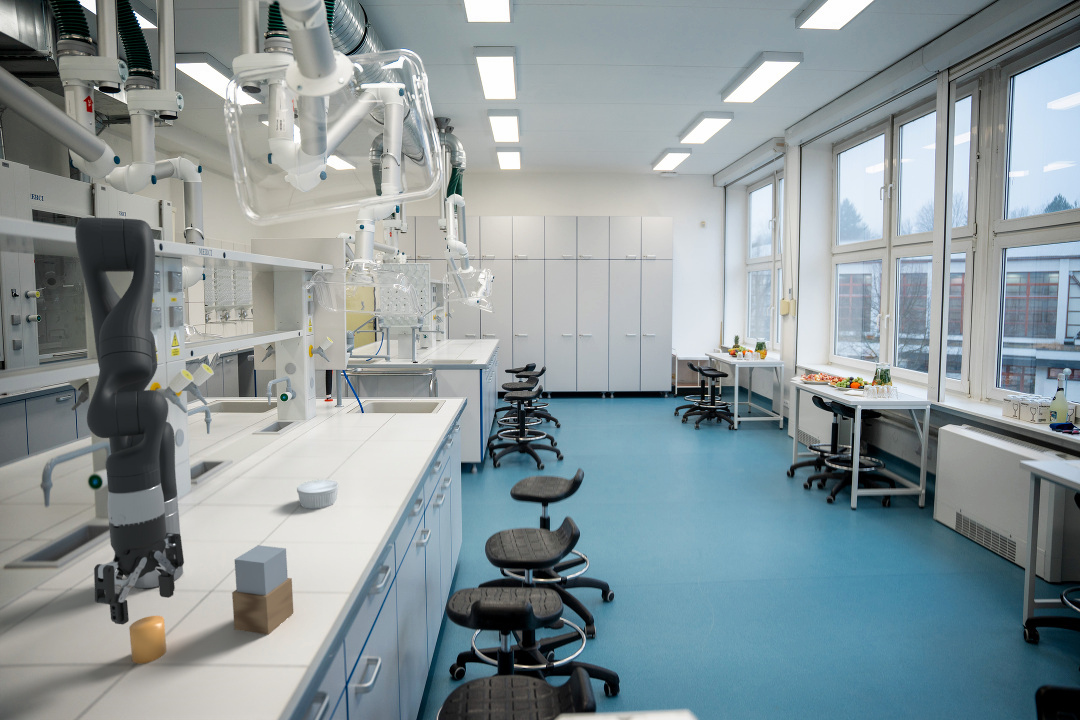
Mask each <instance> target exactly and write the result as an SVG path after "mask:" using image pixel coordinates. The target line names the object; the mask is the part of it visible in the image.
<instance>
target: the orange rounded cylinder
mask: <svg viewBox="0 0 1080 720" xmlns="http://www.w3.org/2000/svg"><path fill="white" fill-rule="evenodd" d="M165 627H166V626H165V618H164V617H163V616H161V615H149V616H146V617H143V618H140V619H138V620H136V621H134V622H132V623H131V625H130V626H129V639H130V640H129V641H130V648H131V650H130V651H131V661H132V662H133V664H134V663H135V664H139V665H140V664H142V665H143V664H148V663H151V662H154V661H156V660H158V659H161V657H163V656H164V655H165V654H166V653H167V642H166V641H167V640H166V639H167V638H166V628H165Z"/></svg>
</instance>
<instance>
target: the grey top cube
mask: <svg viewBox="0 0 1080 720" xmlns="http://www.w3.org/2000/svg"><path fill="white" fill-rule="evenodd" d="M234 572H235V584H236V585H235V588H236V589H235V590H237V592H244V593H252V594H259V595H267V594H268V593H270V592H271V591H272V590H274V589H275V588H277V587H278V586H279V585H281V584H282V583H283V582H285V581H286V580H287V579H288V578H289V576H288V561H287V548H286V547H285V548H284V547H278V546H277V547H276V546H267V545H259V544H257V545H256V546H254V547H252V548H250V549H249V550H248V551H246V552H245V553H242V554H240V556H237V557H236V558H235V559H234Z"/></svg>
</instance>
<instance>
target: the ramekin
mask: <svg viewBox="0 0 1080 720" xmlns="http://www.w3.org/2000/svg"><path fill="white" fill-rule="evenodd" d="M339 486H340V485H339V482H338V481H336V480H333V479H324V478H323V479H315V480H310V481H309V480H308V481H306V482H303V483H300V484H299V485H298V486H297V487H296V492H297V494H298V500H299V503H300V506H302V507H303V508H305V509H311V510H312V509H314V510H316V509H317V510H318V509H323V508H327V506H328V507H330V506H333V505H334V503H336V502H337V499H338V490H339Z"/></svg>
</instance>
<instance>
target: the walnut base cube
mask: <svg viewBox="0 0 1080 720" xmlns="http://www.w3.org/2000/svg"><path fill="white" fill-rule="evenodd" d="M231 594H232V595H231V597H232V612H233V626H234V627H233V628H234V630H236V631H240V632H241V631H243V632H249V633H256V634H261V635H268V636H269V635H270V634H271V633H272V632H274V631H275V630H276V629H277V628H278V627H279V626H281V625H282V624H284V623H285V622H286V621H287V620H288V619H289V618H290V617H292V614H293V613H294V598H293V578H291V577H288V579H287V580H286V581H285V582H283V583H282V584H281V585H279V586H278V587H277V588H275V589H274V590H272V591H271V592H270V593H268V594H267V595H259V594H252V593H244V592H237V590H236V589H235V590H234V591H232V592H231ZM293 615H294V614H293ZM287 618H288V619H287ZM286 619H287V620H286ZM281 623H282V624H281ZM280 624H281V625H280Z"/></svg>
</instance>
